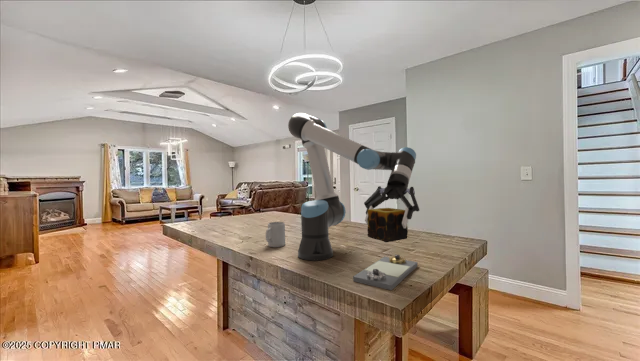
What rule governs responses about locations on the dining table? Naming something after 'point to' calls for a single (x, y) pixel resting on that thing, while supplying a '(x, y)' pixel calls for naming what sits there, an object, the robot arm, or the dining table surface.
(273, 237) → the mug
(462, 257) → the dining table surface
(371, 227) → the candle
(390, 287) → the gear board
